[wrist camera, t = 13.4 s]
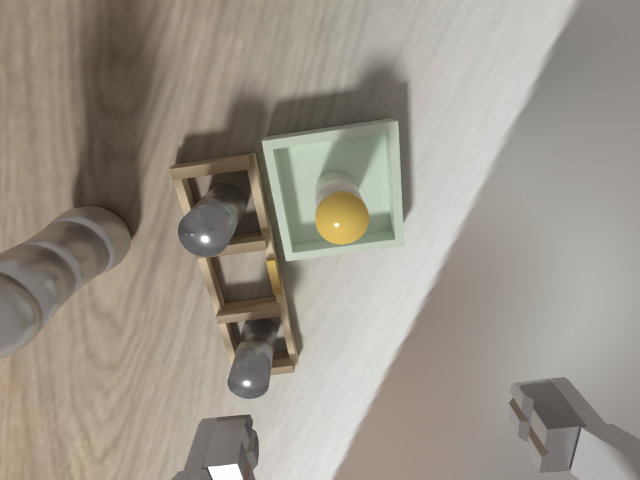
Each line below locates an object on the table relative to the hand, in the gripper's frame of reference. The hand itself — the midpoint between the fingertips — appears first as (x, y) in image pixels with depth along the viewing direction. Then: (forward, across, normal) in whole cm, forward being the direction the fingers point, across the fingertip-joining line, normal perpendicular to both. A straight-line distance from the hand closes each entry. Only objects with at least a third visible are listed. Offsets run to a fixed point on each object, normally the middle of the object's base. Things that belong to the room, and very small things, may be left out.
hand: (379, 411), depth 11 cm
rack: (+26, +11, +8) cm, 29 cm away
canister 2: (+26, +11, +16) cm, 32 cm away
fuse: (+25, 0, 0) cm, 25 cm away
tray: (+26, 0, 0) cm, 26 cm away
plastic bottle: (+26, +24, +1) cm, 36 cm away
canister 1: (+26, +11, 0) cm, 28 cm away
